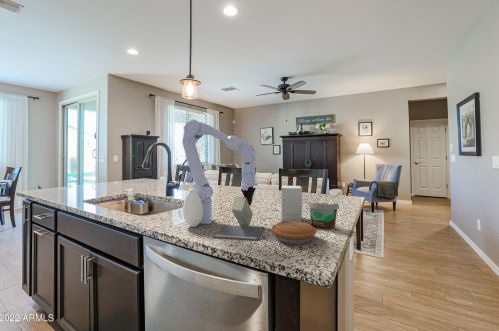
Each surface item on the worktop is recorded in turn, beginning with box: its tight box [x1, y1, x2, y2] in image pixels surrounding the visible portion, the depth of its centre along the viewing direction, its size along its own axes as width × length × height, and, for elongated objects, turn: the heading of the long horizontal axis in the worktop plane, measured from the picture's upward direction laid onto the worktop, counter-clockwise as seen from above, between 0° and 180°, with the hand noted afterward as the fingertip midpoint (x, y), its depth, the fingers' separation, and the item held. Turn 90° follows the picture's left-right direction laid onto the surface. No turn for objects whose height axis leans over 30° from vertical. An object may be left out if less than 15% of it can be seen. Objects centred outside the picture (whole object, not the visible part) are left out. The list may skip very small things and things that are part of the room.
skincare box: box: [231, 196, 254, 226], centre depth 96 cm, size 6×4×12 cm
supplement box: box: [281, 185, 303, 222], centre depth 109 cm, size 9×9×15 cm
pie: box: [271, 221, 318, 245], centre depth 84 cm, size 15×16×5 cm
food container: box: [307, 200, 340, 230], centre depth 96 cm, size 12×6×10 cm, turn 62°
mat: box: [212, 224, 264, 242], centre depth 90 cm, size 16×15×1 cm
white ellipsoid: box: [182, 182, 203, 228], centre depth 98 cm, size 8×8×18 cm
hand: (248, 205), depth 102 cm, fingers closed
